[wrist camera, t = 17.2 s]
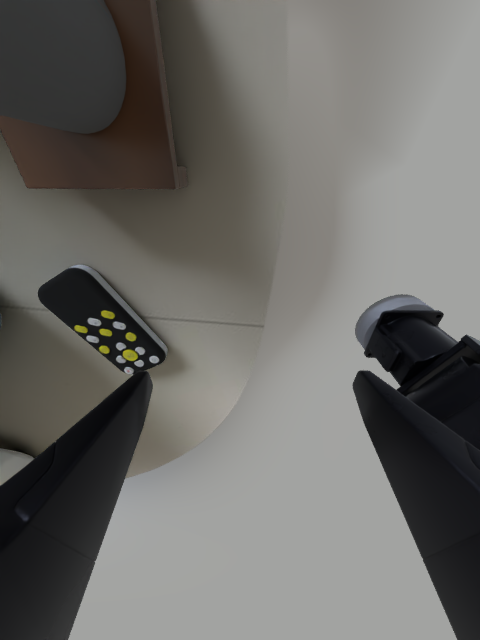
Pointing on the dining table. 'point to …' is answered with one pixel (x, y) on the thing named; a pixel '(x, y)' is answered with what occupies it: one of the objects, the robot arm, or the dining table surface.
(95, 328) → the remote control
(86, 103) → the bottle
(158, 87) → the spice shelf
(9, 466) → the duck
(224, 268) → the dining table surface
